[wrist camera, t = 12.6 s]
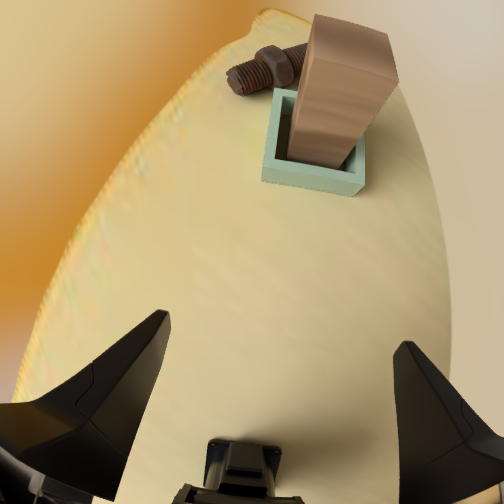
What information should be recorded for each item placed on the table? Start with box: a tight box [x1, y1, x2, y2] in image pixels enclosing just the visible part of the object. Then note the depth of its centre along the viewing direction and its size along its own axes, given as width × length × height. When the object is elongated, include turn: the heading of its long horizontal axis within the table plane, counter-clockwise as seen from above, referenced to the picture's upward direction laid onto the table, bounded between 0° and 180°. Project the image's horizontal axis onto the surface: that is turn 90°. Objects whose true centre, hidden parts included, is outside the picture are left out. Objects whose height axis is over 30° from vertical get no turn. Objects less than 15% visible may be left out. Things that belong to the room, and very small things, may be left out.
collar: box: [261, 88, 365, 197], centre depth 22 cm, size 8×8×3 cm
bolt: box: [226, 43, 308, 97], centre depth 23 cm, size 6×5×15 cm
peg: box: [285, 14, 399, 170], centre depth 17 cm, size 4×4×13 cm
